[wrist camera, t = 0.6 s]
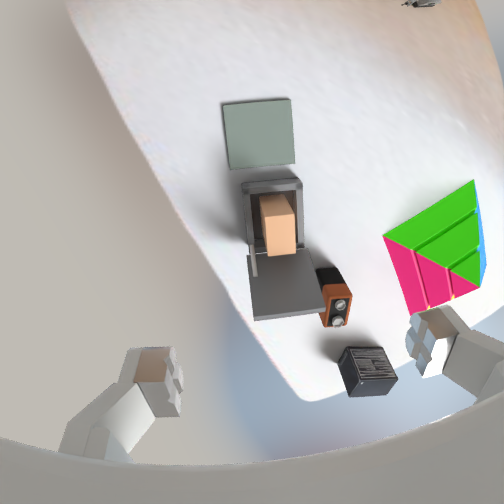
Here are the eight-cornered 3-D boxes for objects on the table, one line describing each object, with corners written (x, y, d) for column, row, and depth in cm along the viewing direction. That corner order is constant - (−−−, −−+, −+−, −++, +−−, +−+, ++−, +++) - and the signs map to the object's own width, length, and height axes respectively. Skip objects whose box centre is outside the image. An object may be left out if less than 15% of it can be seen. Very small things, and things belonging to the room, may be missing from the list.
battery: (311, 298, 61) (324, 332, 52) (315, 267, 57) (329, 300, 49) (333, 296, 61) (348, 329, 52) (337, 266, 58) (355, 297, 49)
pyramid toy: (486, 264, 62) (521, 296, 49) (407, 317, 67) (434, 359, 54) (473, 174, 51) (520, 199, 38) (377, 232, 56) (413, 273, 43)
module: (258, 196, 50) (264, 217, 43) (283, 193, 51) (294, 214, 43) (261, 230, 53) (268, 256, 45) (285, 228, 53) (295, 253, 45)
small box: (335, 365, 71) (347, 399, 61) (345, 345, 68) (359, 380, 59) (372, 365, 72) (386, 396, 63) (383, 346, 69) (399, 378, 60)
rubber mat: (223, 105, 43) (222, 105, 43) (290, 99, 44) (290, 99, 43) (230, 169, 48) (230, 169, 48) (294, 162, 48) (295, 163, 48)
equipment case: (238, 183, 49) (242, 219, 36) (301, 177, 49) (328, 210, 36) (247, 266, 56) (254, 322, 43) (303, 260, 56) (325, 312, 43)
